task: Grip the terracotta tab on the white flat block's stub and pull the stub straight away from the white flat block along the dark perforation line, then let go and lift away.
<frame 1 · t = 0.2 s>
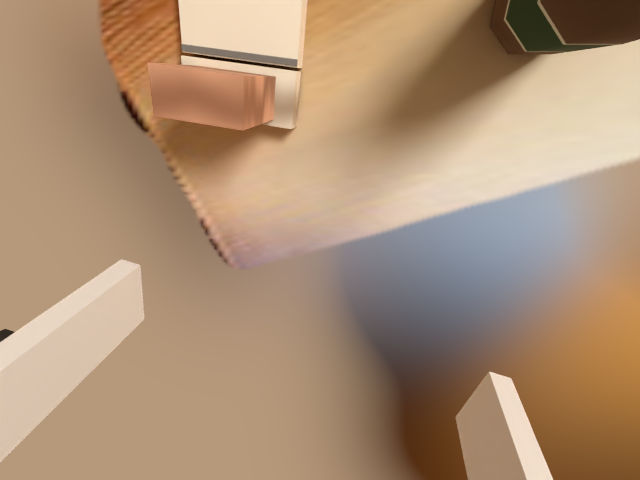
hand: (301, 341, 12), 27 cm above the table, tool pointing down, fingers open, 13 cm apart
beer bottle: (536, 7, 27), on the table
stub: (224, 94, 30), point 5 cm above the table, slide at 0.0 cm
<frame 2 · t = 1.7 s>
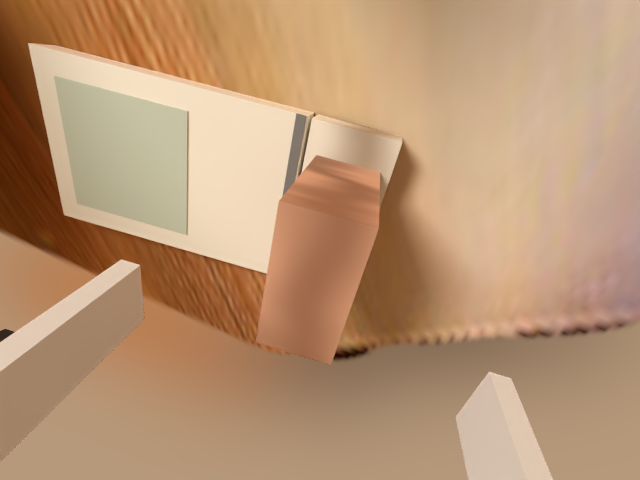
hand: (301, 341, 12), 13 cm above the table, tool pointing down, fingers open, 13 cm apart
white flat block: (183, 166, 24), on the table
stub: (325, 241, 18), point 5 cm above the table, slide at 0.0 cm
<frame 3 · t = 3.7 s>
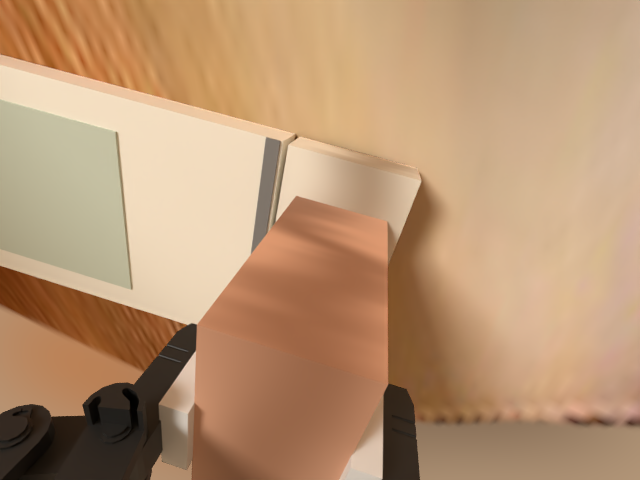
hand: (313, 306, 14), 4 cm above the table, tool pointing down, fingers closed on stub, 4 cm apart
white flat block: (126, 199, 18), on the table
stub: (307, 325, 13), point 5 cm above the table, slide at 0.0 cm, touching gripper
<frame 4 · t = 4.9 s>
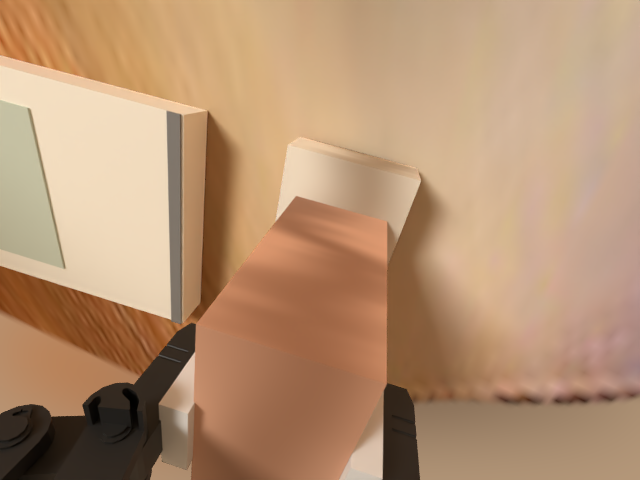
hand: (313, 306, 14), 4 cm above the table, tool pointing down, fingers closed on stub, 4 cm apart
white flat block: (58, 180, 18), on the table
stub: (307, 325, 13), point 5 cm above the table, slide at 4.3 cm, touching gripper
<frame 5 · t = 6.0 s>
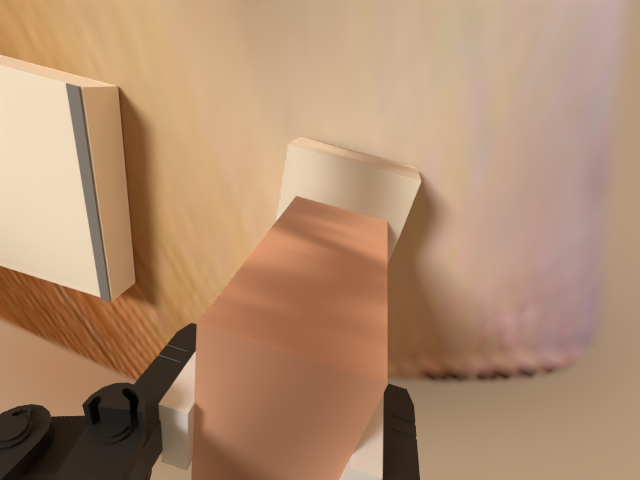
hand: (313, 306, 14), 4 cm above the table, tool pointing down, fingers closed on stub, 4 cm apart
stub: (307, 325, 13), point 5 cm above the table, slide at 8.9 cm, touching gripper
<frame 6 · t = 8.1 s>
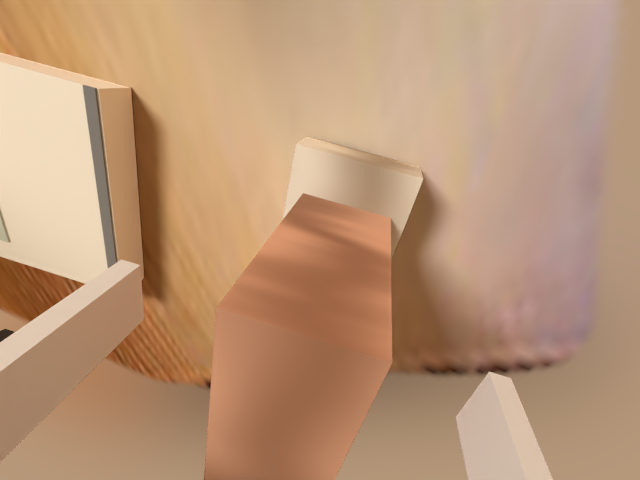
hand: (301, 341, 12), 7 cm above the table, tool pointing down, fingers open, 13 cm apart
white flat block: (3, 157, 19), on the table
stub: (313, 317, 13), point 5 cm above the table, slide at 9.0 cm
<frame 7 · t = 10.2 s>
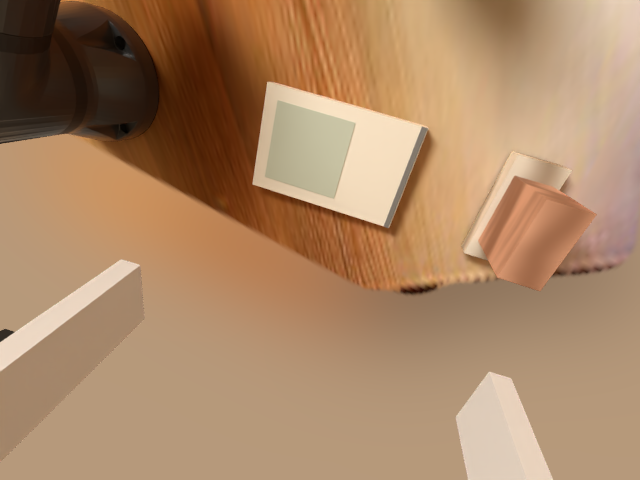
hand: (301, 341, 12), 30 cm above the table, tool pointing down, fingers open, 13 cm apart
white flat block: (334, 155, 38), on the table
stub: (523, 226, 32), point 5 cm above the table, slide at 9.0 cm
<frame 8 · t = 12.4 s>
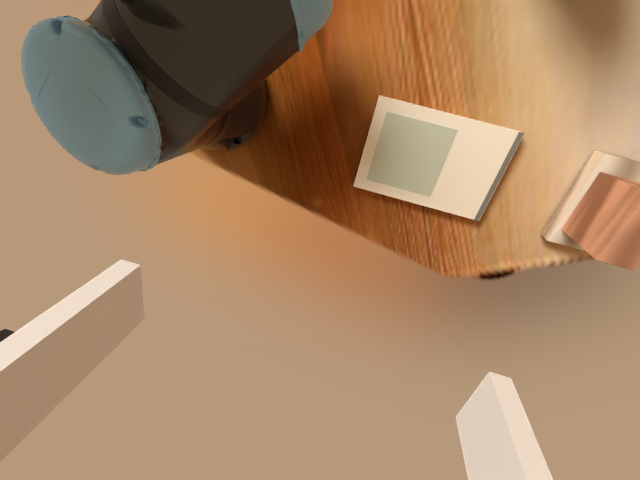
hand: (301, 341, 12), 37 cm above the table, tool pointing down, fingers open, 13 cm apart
white flat block: (429, 158, 43), on the table
stub: (610, 215, 37), point 5 cm above the table, slide at 9.0 cm
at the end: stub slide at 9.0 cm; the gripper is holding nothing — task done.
